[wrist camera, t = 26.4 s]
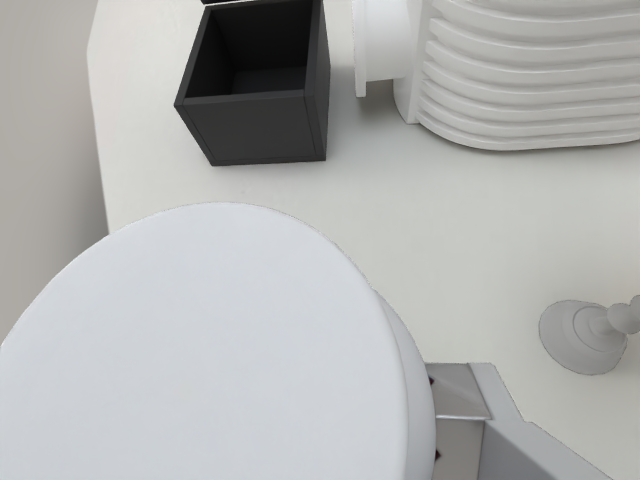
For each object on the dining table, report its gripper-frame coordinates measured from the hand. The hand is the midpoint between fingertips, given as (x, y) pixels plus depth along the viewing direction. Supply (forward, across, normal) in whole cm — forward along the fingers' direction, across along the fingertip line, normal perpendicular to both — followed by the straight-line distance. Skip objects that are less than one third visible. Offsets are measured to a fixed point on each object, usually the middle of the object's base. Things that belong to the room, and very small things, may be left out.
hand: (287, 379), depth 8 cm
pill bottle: (+4, 0, +5) cm, 6 cm away
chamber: (+32, +8, -7) cm, 34 cm away
